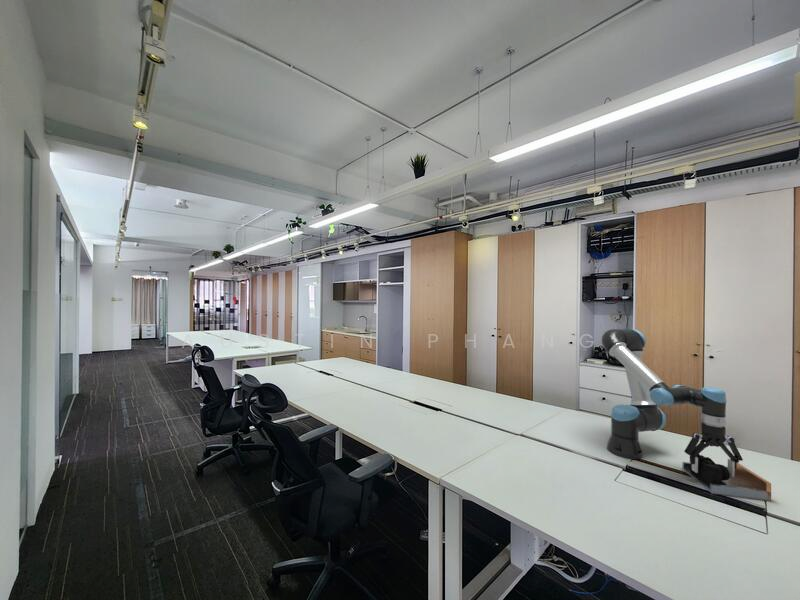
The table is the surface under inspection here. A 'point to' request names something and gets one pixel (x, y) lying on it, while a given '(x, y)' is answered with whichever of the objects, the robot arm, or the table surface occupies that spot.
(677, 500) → the table surface
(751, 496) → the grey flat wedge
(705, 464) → the camera
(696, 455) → the robot arm
